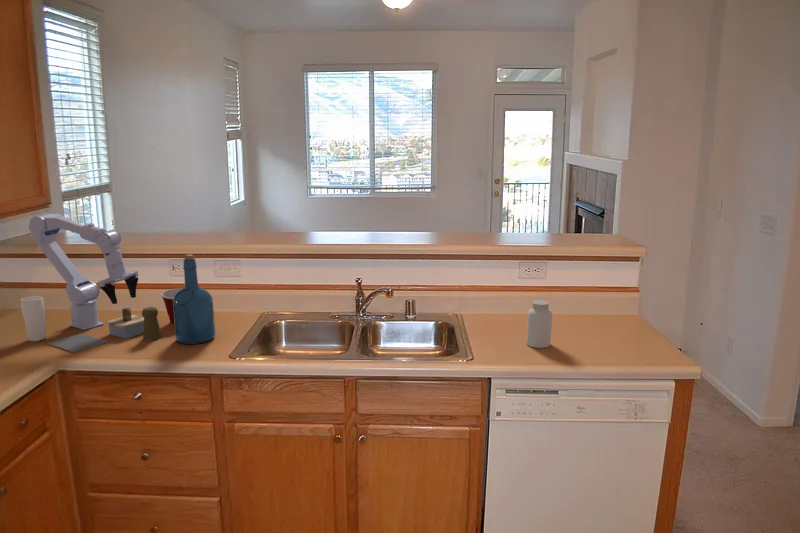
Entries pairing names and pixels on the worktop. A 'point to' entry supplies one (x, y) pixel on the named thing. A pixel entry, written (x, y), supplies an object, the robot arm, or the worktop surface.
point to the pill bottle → (539, 325)
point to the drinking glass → (34, 317)
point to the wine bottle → (193, 309)
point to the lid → (126, 319)
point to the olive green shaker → (151, 324)
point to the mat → (77, 342)
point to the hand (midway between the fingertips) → (124, 300)
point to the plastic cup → (170, 302)
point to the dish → (127, 330)
